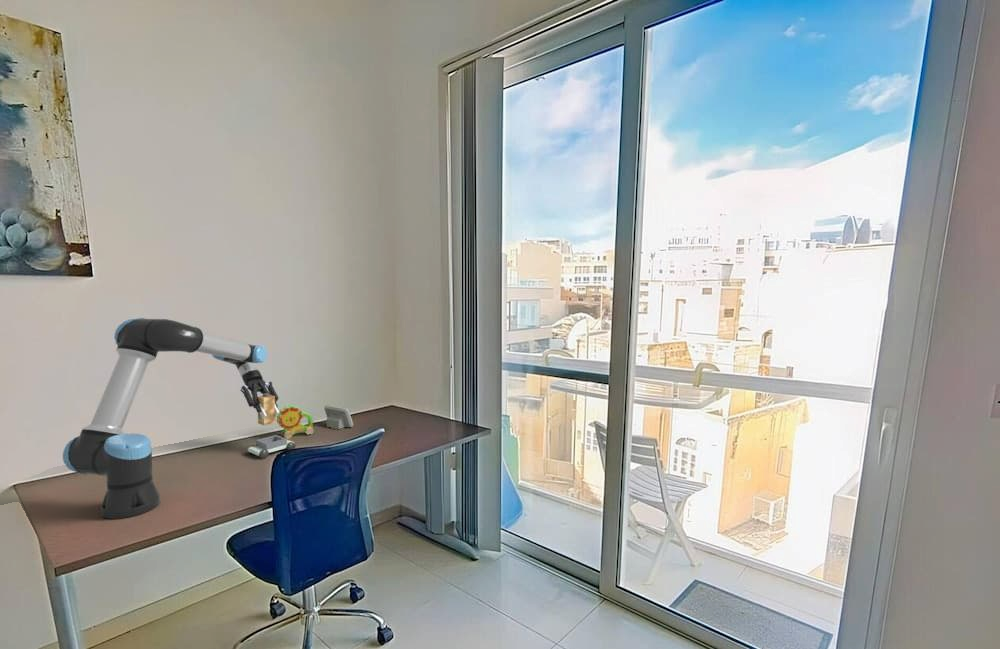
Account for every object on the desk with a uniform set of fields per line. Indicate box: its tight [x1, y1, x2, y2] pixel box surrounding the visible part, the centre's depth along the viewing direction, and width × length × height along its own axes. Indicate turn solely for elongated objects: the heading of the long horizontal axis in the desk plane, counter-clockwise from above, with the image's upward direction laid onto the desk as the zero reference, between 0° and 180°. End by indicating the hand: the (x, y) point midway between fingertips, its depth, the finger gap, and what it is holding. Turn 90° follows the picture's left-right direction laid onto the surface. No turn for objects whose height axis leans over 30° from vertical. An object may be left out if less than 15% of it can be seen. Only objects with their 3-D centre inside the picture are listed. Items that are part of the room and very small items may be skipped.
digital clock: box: [324, 405, 354, 430], centre depth 243 cm, size 16×9×11 cm, turn 51°
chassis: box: [246, 434, 296, 459], centre depth 206 cm, size 16×11×6 cm
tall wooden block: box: [257, 393, 276, 426], centre depth 208 cm, size 5×5×13 cm
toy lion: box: [276, 405, 314, 440], centre depth 227 cm, size 16×5×15 cm, turn 128°
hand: (271, 416), depth 206 cm, fingers closed on tall wooden block, 5 cm apart
